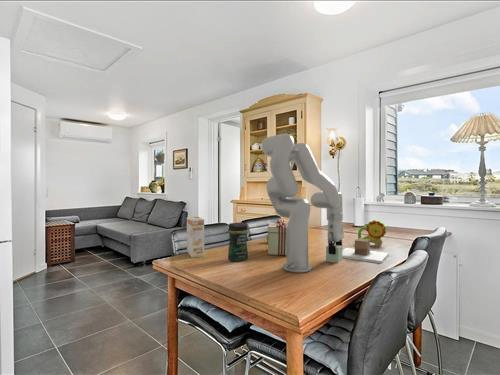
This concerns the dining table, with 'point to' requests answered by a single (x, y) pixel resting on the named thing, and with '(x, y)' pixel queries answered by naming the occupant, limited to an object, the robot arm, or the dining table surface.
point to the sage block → (336, 257)
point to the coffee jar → (238, 241)
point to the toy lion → (374, 232)
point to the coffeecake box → (195, 236)
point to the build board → (371, 257)
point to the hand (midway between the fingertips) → (335, 251)
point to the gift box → (277, 238)
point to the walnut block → (362, 246)
